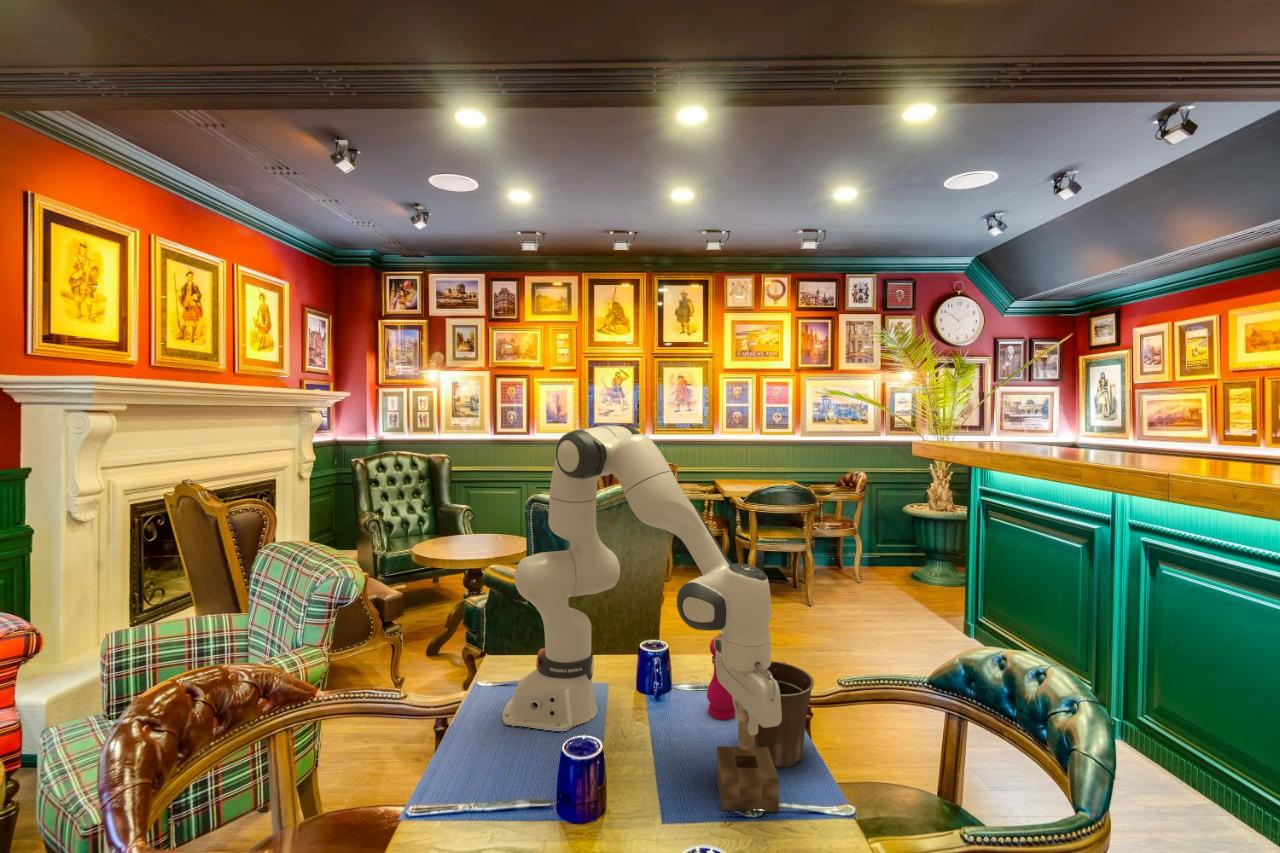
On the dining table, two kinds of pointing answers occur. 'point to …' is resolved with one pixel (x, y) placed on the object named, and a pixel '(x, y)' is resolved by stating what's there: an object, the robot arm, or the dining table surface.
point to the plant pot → (788, 715)
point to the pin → (744, 731)
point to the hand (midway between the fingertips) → (746, 727)
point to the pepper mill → (719, 693)
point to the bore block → (747, 779)
